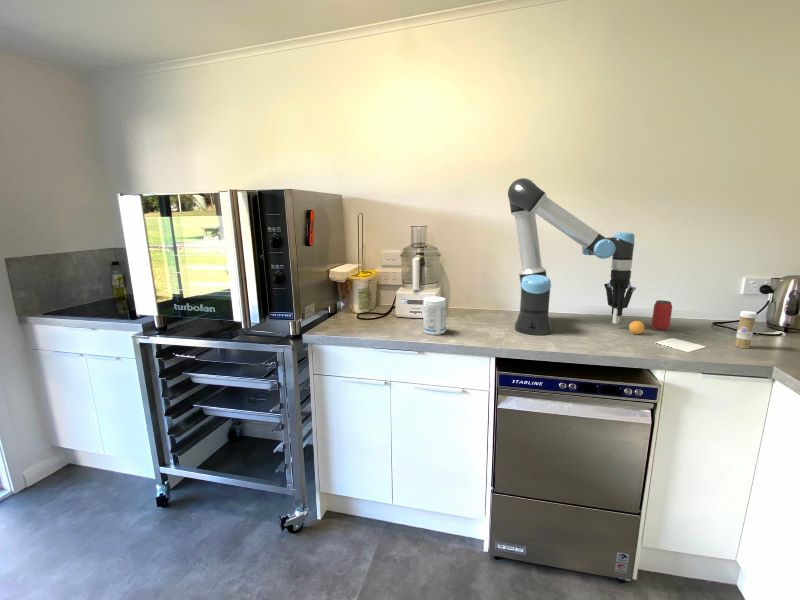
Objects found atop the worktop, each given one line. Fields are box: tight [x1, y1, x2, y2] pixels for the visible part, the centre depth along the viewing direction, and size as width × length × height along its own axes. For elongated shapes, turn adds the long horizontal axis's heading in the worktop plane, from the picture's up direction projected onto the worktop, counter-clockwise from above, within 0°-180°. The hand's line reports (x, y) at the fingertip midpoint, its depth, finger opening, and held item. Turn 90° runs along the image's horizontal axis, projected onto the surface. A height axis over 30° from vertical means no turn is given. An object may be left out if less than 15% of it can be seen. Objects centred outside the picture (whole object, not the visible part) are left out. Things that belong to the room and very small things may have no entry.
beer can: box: [651, 299, 673, 331], centre depth 168 cm, size 7×7×12 cm
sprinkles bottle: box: [734, 310, 758, 349], centre depth 143 cm, size 5×5×14 cm
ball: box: [628, 320, 645, 335], centre depth 161 cm, size 6×6×6 cm
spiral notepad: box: [654, 337, 707, 353], centre depth 147 cm, size 12×12×1 cm
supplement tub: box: [422, 296, 447, 336], centre depth 165 cm, size 10×10×15 cm
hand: (615, 322), depth 169 cm, fingers closed
